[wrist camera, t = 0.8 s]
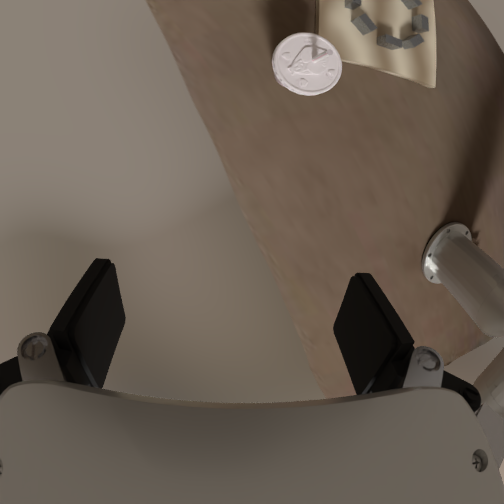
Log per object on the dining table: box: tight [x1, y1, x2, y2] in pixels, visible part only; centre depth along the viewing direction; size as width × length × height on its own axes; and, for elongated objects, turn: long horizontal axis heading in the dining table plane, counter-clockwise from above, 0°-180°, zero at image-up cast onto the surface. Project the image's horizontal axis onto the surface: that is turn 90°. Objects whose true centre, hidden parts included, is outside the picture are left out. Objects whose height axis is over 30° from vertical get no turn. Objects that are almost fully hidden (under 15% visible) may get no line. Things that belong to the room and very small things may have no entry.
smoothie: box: [272, 32, 342, 96], centre depth 22 cm, size 6×6×14 cm
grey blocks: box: [345, 0, 429, 50], centre depth 21 cm, size 11×11×2 cm
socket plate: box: [315, 0, 436, 88], centre depth 23 cm, size 18×18×2 cm
